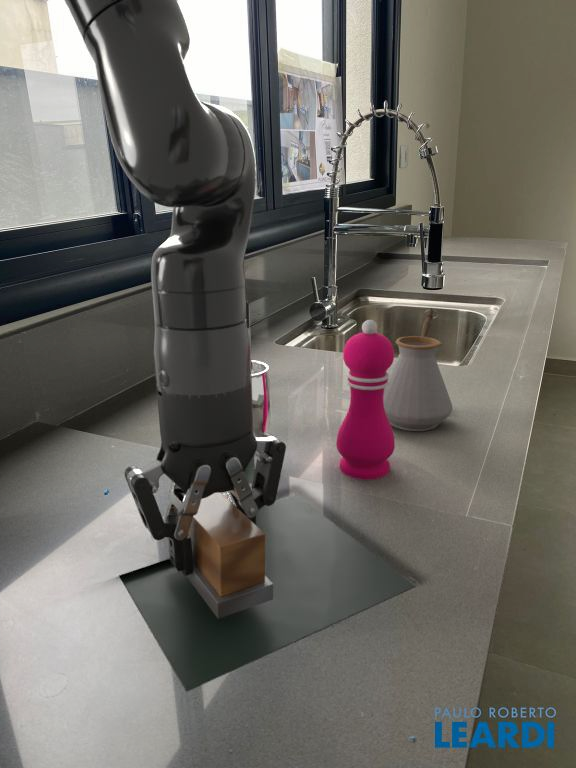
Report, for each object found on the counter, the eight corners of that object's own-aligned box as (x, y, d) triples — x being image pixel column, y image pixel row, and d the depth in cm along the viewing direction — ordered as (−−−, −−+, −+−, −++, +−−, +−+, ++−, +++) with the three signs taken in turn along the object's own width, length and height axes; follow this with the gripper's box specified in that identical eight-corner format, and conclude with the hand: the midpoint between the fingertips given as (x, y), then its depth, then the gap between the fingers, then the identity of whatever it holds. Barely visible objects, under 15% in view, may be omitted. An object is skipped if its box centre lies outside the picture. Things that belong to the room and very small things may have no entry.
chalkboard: (186, 702, 43) (186, 691, 43) (106, 561, 59) (105, 553, 59) (415, 595, 54) (416, 586, 54) (295, 501, 70) (295, 493, 70)
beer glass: (207, 494, 72) (201, 374, 67) (227, 468, 78) (222, 357, 74) (263, 501, 70) (261, 378, 66) (278, 474, 77) (277, 361, 72)
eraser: (218, 619, 47) (216, 551, 46) (164, 547, 57) (161, 489, 55) (273, 599, 50) (274, 534, 48) (212, 533, 60) (211, 478, 58)
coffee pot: (446, 440, 86) (455, 338, 82) (368, 430, 90) (371, 332, 85) (459, 394, 105) (467, 309, 101) (394, 387, 109) (398, 305, 104)
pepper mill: (396, 465, 79) (404, 315, 73) (389, 491, 72) (397, 328, 66) (341, 459, 81) (344, 312, 75) (330, 484, 74) (332, 325, 68)
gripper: (260, 352, 54) (265, 518, 60) (100, 379, 47) (121, 564, 53) (305, 373, 48) (306, 556, 54) (129, 407, 41) (149, 613, 47)
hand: (214, 559), depth 53 cm, fingers closed on eraser, 5 cm apart
